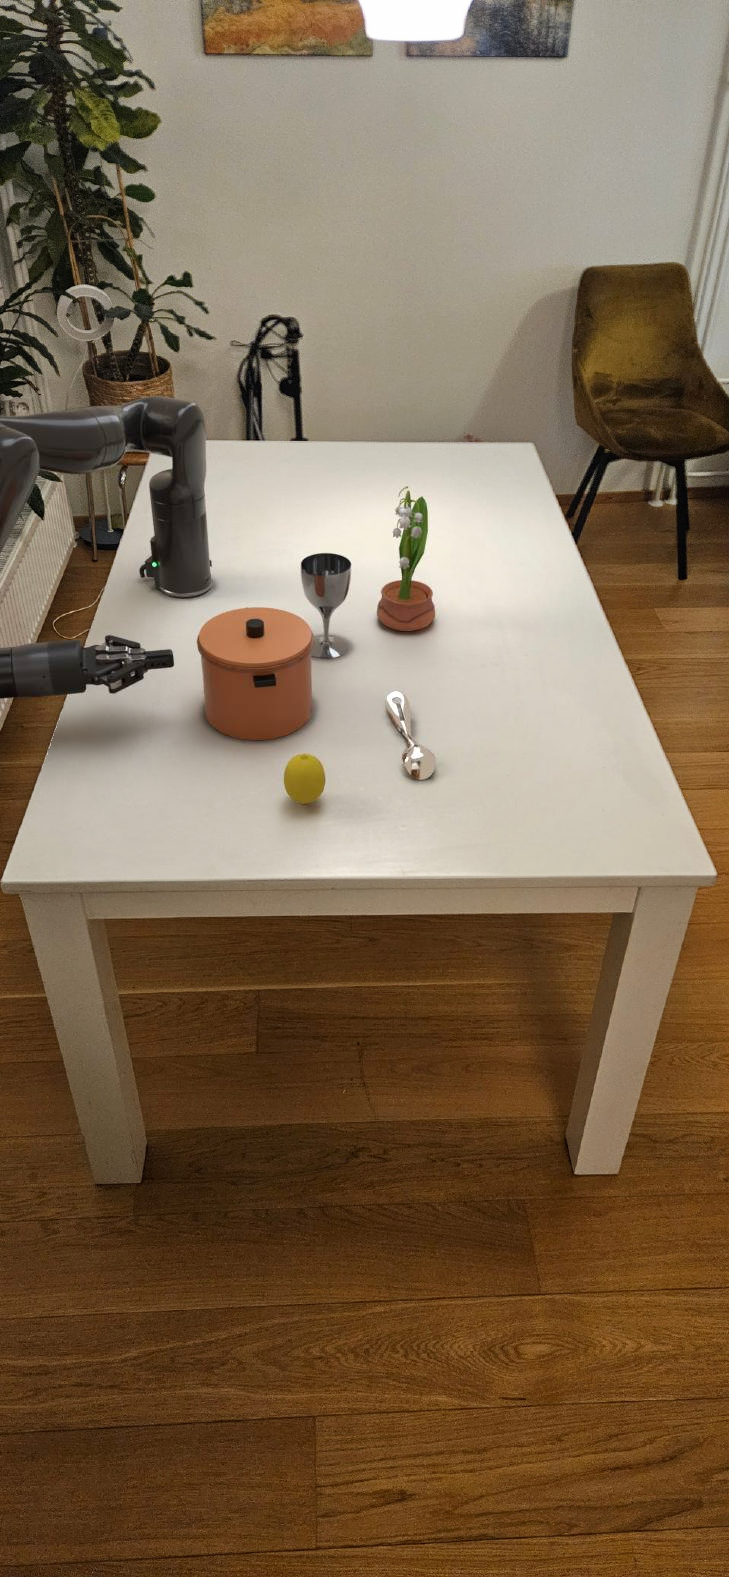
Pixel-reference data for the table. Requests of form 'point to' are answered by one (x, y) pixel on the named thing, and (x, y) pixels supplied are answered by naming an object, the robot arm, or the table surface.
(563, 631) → the table surface
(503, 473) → the table surface
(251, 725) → the copper pot
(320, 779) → the lemon
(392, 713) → the silver elongated piece
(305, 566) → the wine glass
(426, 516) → the potted flower
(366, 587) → the table surface
